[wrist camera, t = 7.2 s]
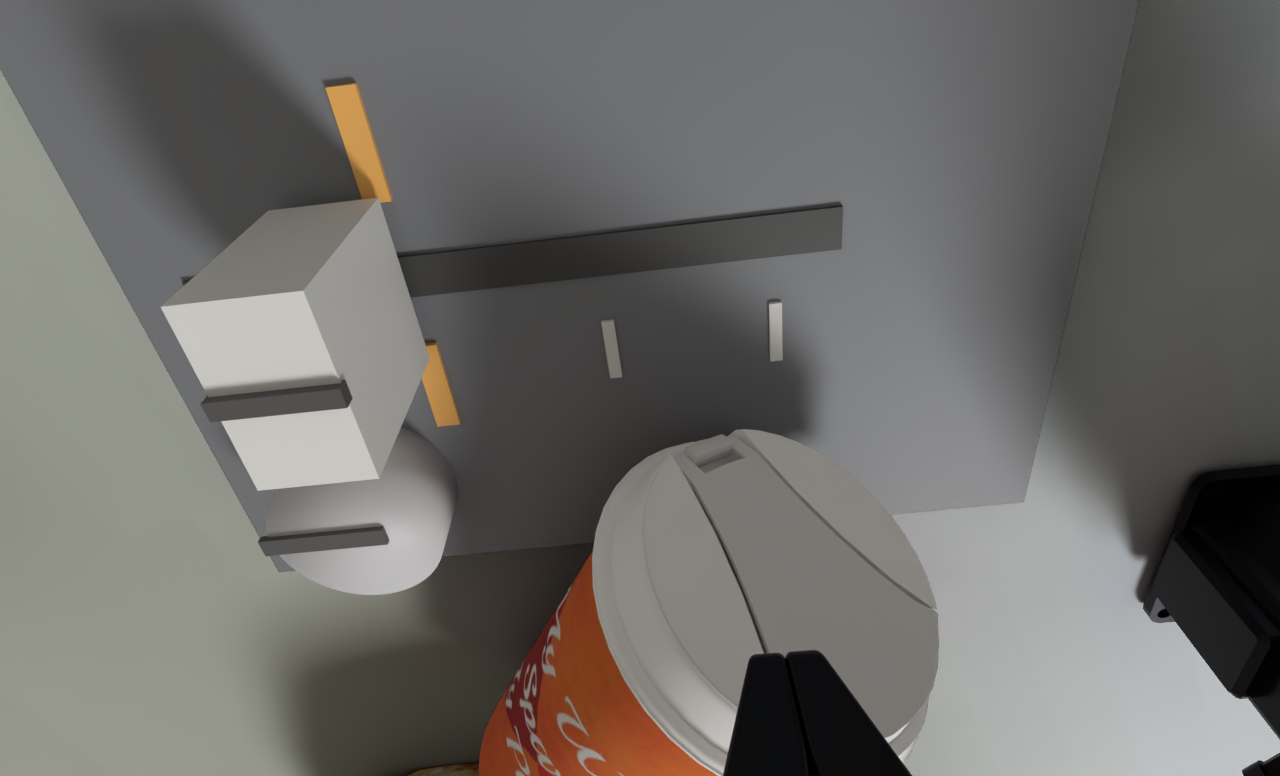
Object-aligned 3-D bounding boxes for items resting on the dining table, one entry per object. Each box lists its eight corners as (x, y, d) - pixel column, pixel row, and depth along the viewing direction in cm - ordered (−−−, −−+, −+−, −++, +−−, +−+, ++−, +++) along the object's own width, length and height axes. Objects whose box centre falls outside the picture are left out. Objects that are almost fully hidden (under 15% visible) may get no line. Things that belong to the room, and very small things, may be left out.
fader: (380, 197, 16) (301, 295, 12) (431, 358, 18) (379, 485, 14) (265, 210, 16) (150, 313, 12) (330, 369, 18) (250, 498, 14)
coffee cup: (400, 711, 25) (542, 464, 15) (595, 612, 30) (799, 378, 20) (520, 978, 22) (806, 900, 11) (714, 815, 27) (1029, 662, 17)
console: (1135, -198, 14) (1280, -223, 11) (1002, 468, 23) (1060, 557, 20) (1, -39, 15) (-160, -22, 12) (297, 536, 24) (248, 631, 21)
